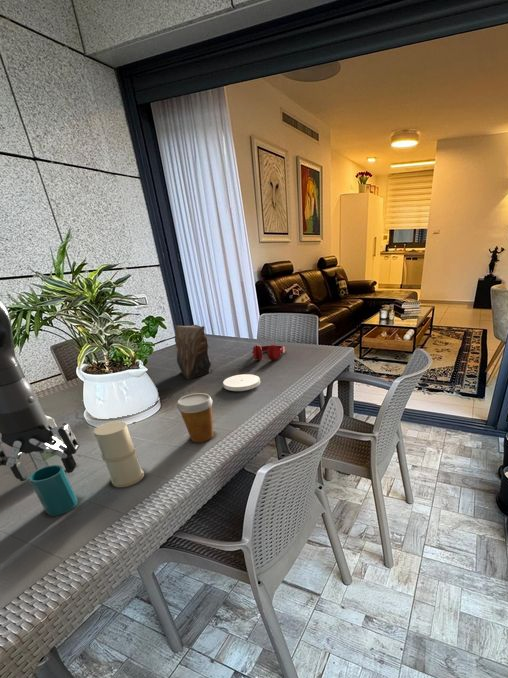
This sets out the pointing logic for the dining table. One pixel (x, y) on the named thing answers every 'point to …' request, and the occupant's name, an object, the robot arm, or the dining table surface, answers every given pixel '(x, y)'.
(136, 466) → the cup stack
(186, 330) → the brown stone chunk
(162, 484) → the dining table surface
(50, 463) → the syrup box
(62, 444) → the robot arm
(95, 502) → the dining table surface
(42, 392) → the dining table surface
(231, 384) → the plastic lid
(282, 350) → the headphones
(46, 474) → the teal cup
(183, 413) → the disposable coffee cup
